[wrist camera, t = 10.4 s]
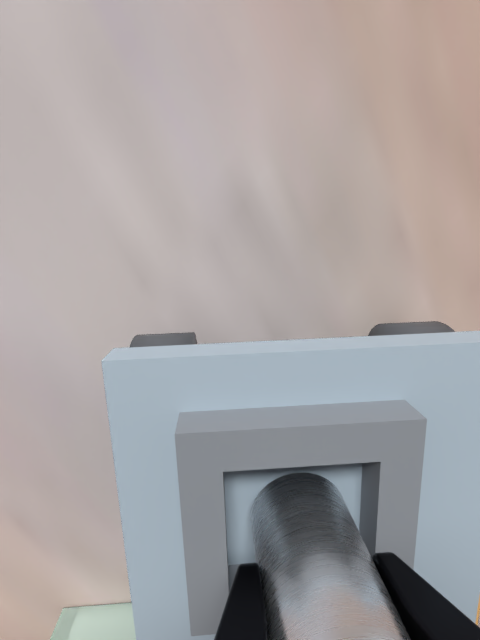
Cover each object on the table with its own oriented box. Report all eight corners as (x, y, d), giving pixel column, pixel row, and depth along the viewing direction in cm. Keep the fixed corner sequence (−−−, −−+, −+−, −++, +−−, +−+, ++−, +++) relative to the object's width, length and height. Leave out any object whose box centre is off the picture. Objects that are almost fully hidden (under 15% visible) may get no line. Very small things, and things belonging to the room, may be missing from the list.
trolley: (399, 514, 15) (500, 667, 10) (162, 531, 15) (130, 701, 9) (415, 306, 13) (552, 353, 8) (142, 318, 13) (86, 377, 7)
